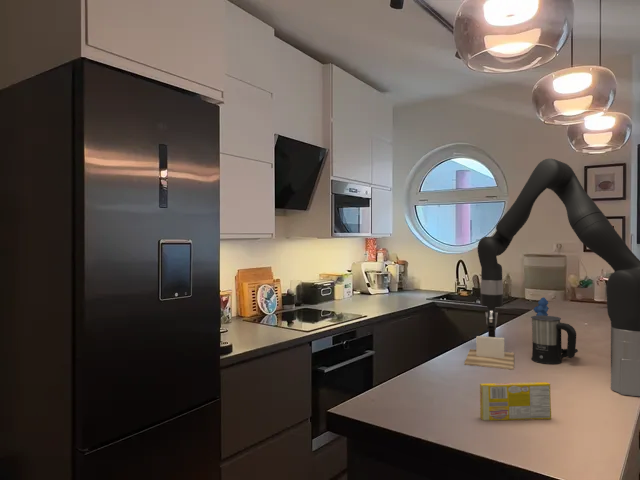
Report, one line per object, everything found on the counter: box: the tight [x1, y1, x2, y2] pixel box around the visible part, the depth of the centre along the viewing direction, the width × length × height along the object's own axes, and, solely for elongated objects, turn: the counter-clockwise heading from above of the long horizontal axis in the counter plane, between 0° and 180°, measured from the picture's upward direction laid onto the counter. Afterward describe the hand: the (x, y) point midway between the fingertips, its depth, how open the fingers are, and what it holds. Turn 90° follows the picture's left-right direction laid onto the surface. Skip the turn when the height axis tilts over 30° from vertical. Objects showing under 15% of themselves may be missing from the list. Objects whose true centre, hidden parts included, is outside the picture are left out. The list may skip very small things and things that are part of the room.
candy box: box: [479, 381, 552, 421], centre depth 109 cm, size 16×2×8 cm, turn 92°
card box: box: [475, 335, 505, 358], centre depth 162 cm, size 3×9×6 cm, turn 68°
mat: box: [464, 348, 515, 370], centre depth 161 cm, size 20×15×1 cm
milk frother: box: [530, 315, 579, 365], centre depth 160 cm, size 14×16×15 cm
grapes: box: [533, 296, 550, 316], centre depth 228 cm, size 12×7×12 cm, turn 138°
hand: (491, 340), depth 167 cm, fingers closed
